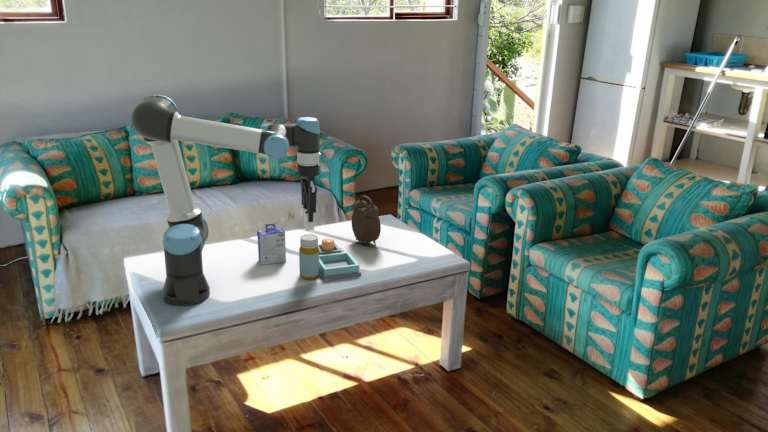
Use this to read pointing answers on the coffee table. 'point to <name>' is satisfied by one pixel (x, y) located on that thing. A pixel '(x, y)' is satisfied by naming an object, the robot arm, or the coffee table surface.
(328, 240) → the button
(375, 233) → the alarm clock
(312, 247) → the bottle
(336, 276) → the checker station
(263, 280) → the coffee table surface
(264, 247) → the ink cartridge box
